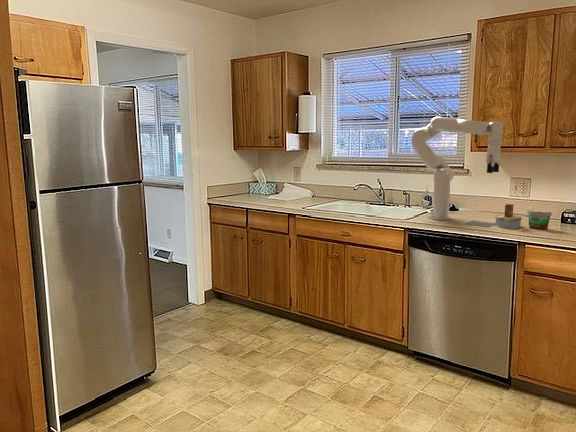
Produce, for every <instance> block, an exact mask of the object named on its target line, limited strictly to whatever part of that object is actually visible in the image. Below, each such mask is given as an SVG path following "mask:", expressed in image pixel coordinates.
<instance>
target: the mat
mask: <svg viewBox="0 0 576 432" xmlns="http://www.w3.org/2000/svg"><path fill="white" fill-rule="evenodd" d="M463 225H468V226H475V227H481V228H483V227H484V228H490V227H493V226H496V222H487V221H479V220H471V221H468V222H464V223H463Z"/></svg>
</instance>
